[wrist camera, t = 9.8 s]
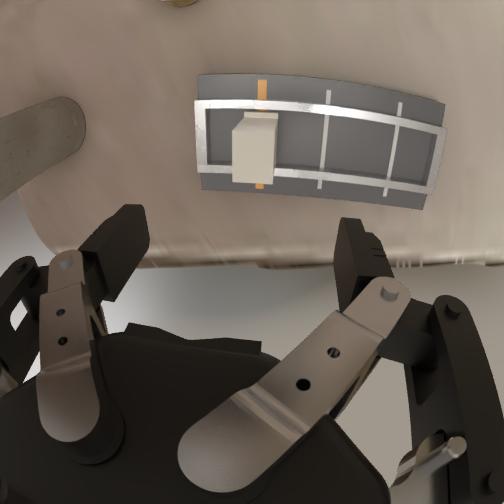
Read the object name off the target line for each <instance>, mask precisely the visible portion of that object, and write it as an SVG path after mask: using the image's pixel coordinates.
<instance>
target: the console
mask: <svg viewBox="0 0 504 504" xmlns="http://www.w3.org/2000/svg"><path fill="white" fill-rule="evenodd" d="M194 102H195V130H196V152H197V170H198V172H200V173H201V180H202V190H218V191H238V192H255V193H270V194H284V195H296V196H308V197H319V198H329V199H339V200H348V201H357V202H366V203H374V204H382V205H390V206H397V207H404V208H411V209H418V210H423V207H424V203H425V200H426V196H427V194H429V195H432V194H433V190H434V187H435V183H436V179H437V175H438V170H439V166H440V162H441V157H442V153H443V148H444V143H445V138H446V132H447V129H446V128H444V127H442V122H443V116H444V109H445V104H443V103H440V102H437V101H433V100H430V99H426V98H423V97H419V96H415V95H411V94H407V93H403V92H399V91H394V90H389V89H385V88H380V87H375V86H369V85H364V84H358V83H352V82H345V81H338V80H330V79H322V78H313V77H302V76H289V75H271V74H208V75H198V99H197V100H195V101H194ZM246 110H249V111H273V112H279V113H278V136H277V157H276V165H275V171H274V178H273V184H258V183H240V182H232V130H233V129H234V128H235V127H236V126H237V125H238V123H239V122H240V121H241V120H242V119H243V118H244V111H246Z"/></svg>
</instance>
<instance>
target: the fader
mask: <svg viewBox="0 0 504 504" xmlns="http://www.w3.org/2000/svg"><path fill="white" fill-rule="evenodd" d="M278 113H279V112H273V111H249V110H246V111H244V118H243V119H242V120H241V121H240V122H239V123H238V125H237V126H236V127H235V128H234V129H233V130H232V182H240V183H258V184H273V178H274V171H275V165H276V157H277V136H278Z"/></svg>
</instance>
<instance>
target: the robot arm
mask: <svg viewBox="0 0 504 504" xmlns="http://www.w3.org/2000/svg"><path fill="white" fill-rule="evenodd" d="M149 243H150V237H149V232H148V226H147V221H146V216H145V210H144V207H143V206H142V205H141V204H125V205H123V206H122V207H121V208H120V209H119V210H118V211H117V212H116V213H115V214H114V215H113V216H112V217H110V218H108V219H107V220H105V221H104V222H103V223H102V224H101V225H100V226H99V227H98V229H96V230H95V231H94V232H93V234H91V235H90V236H89V238H88V239H87V240H86V241H85V242H84V243H83V244H82V245H81V246H80V247H79V248H78V250H67V251H64V252H62V253H60V254H58V255H57V256H55V257H54V258H53V259H52V260H51V262H50V264H49V265H48V266H41V267H38V266H37V263H36V261H35V259H34V257H32V256H25V257H22V258H20V259H18V260H16V261H15V262H13V263H12V264H11V265H10V267H9V268H8V269H7V270H6V271H5V272H4V273H3V275H2V276H1V277H0V504H502V503H503V502H504V418H503V413H502V409H501V405H500V401H499V397H498V393H497V389H496V385H495V382H494V379H493V375H492V372H491V369H490V366H489V362H488V359H487V356H486V353H485V350H484V347H483V345H482V342H481V339H480V337H479V334H478V331H477V329H476V326H475V323H474V321H473V319H472V316H471V314H470V311H469V309H468V308H467V306H466V305H465V304H464V303H463V302H462V301H461V300H459V299H458V298H456V297H453V296H449V295H442V296H439V297H437V298H436V300H435V302H434V304H433V305H431V304H427V303H424V302H421V301H417V300H415V299H412V298H411V294H410V291H409V289H408V288H407V287H406V286H405V285H404V284H403V283H402V282H400V281H399V280H397V279H395V278H394V275H393V272H392V270H391V267H390V264H389V262H388V259H387V258H386V254H385V251H383V246H382V244H381V241H380V240H379V239H378V238H377V237H376V236H375V235H374V234H373V233H370V232H365V230H364V227H363V224H362V222H361V220H360V219H355V218H345V217H342V218H341V220H340V224H339V229H338V235H337V240H336V245H335V251H334V261H333V264H334V272H335V280H336V287H337V294H338V302H339V310H340V311H338V310H335V311H334V312H332V313H331V314H330V315H329V316H328V317H327V318H326V319H325V320H324V321H323V322H322V323H321V324H320V325H319V326H318V327H317V328H316V329H315V330H314V331H313V332H312V333H311V334H310V335H309V336H308V337H306V338H305V339H304V341H302V342H301V343H300V344H299V345H298V346H297V347H296V348H295V349H294V350H293V351H292V352H290V353H289V354H288V355H287V356H286V357H285V358H284V359H283V360H282V361H280V360H278V359H277V358H275V357H273V356H271V355H269V354H266V353H263V352H261V343H262V342H261V341H253V340H243V339H234V338H214V339H200V340H187V339H184V338H182V337H179V336H176V335H174V334H172V333H169V332H167V331H165V330H162V329H160V328H156V327H151V326H145V325H140V324H135V323H128V325H127V328H126V329H125V331H124V332H119V333H112V334H108V330H107V325H106V321H105V317H104V312H103V308H102V306H101V302H102V300H105V301H110V302H115V300H116V299H117V297H118V295H119V293H120V292H121V290H122V289H123V287H124V286H125V284H126V283H127V281H128V279H129V278H130V276H131V275H132V273H133V272H134V270H135V269H136V267H137V266H138V264H139V262H140V261H141V259H142V258H143V256H144V255H145V253H146V252H147V250H148V248H149ZM20 300H21V301H22V303H23V305H24V306H25V308H26V310H27V314H26V315H25V317H24V318H23V320H22V321H21V323H20V325H19V326H18V328H17V329H16V331H15V330H14V328H13V327H12V325H11V322H10V316H11V313H12V311H13V310H14V308H15V307H16V306H17V304H18V303H19V301H20ZM39 351H40V365H41V370H40V372H39V373H38V374H37V375H36V376H34V377H32V378H31V379H29V380H27V381H26V382H24V383H23V381H24V379H25V377H26V375H27V373H28V371H29V370H30V368H31V366H32V364H33V362H34V360H35V358H36V356H37V355H38V352H39ZM382 357H383V358H386V359H389V360H393V361H397V362H400V363H403V364H404V370H405V378H406V385H407V393H408V401H409V411H410V422H411V435H412V450H411V451H409V452H408V453H407V454H406V455H405V456H404V457H403V458H402V459H401V461H400V463H399V466H398V471H397V476H396V479H395V481H394V483H393V484H392V485H391V487H390V488H388V486H387V484H386V482H385V480H384V478H383V477H382V475H381V474H380V473H379V472H378V471H377V469H376V468H375V467H374V466H373V465H372V464H371V463H370V462H369V460H368V459H367V458H366V457H365V456H364V455H363V453H362V452H361V451H360V450H359V449H358V448H357V447H356V445H355V444H354V443H353V442H352V441H351V439H350V438H349V437H348V436H347V435H346V433H345V432H344V431H343V430H342V429H341V427H340V426H339V425H338V424H337V423H336V421H335V420H336V419H337V418H338V417H339V416H340V414H341V413H342V412H343V411H344V409H345V408H346V406H347V405H348V404H349V402H350V401H351V399H352V398H353V397H354V395H355V394H356V392H357V391H358V390H359V388H360V387H361V386H362V384H363V383H364V382H365V380H366V379H367V378H368V376H369V375H370V373H371V372H372V371H373V369H374V368H375V366H376V365H377V364H378V362H379V360H380V359H381V358H382ZM22 383H23V384H22Z"/></svg>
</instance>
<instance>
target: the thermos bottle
mask: <svg viewBox="0 0 504 504" xmlns="http://www.w3.org/2000/svg"><path fill="white" fill-rule="evenodd" d="M84 136H85V119H84V116H83V113H82V111H81V109H80V107H79V106H78V104H77V103H76V102H74V101H73V100H72V99H70V98H66V97H58V98H55V99H52V100H49V101H46V102H43V103H40V104H37V105H34V106H31V107H28V108H26V109H23V110H20V111H18V112H15V113H12V114H10V115H7V116H5V117H3V118H0V202H1V201H2V200H3V199H5V198H6V197H7V196H9V195H10V194H11V193H13V192H14V191H16V190H17V189H18V188H20V187H21V186H23V185H24V184H25V183H27V182H28V181H30V180H31V179H33V178H34V177H36V176H37V175H39V174H40V173H42V172H44V171H45V170H47V169H48V168H50V167H51V166H53V165H55V164H56V163H58V162H60V161H61V160H63V159H65V158H66V157H68V156H70V155H71V154H73V153H74V152H76V151H77V150H78V149H79V147H80V146H81V144H82V142H83V139H84Z"/></svg>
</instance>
